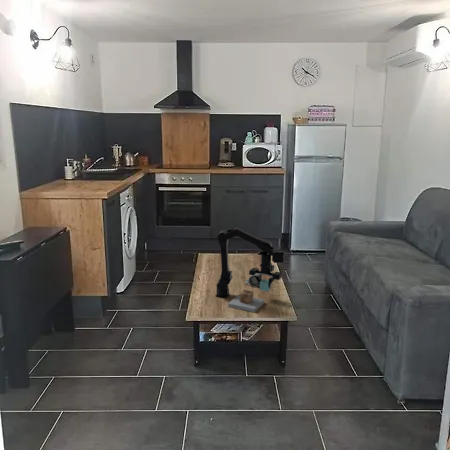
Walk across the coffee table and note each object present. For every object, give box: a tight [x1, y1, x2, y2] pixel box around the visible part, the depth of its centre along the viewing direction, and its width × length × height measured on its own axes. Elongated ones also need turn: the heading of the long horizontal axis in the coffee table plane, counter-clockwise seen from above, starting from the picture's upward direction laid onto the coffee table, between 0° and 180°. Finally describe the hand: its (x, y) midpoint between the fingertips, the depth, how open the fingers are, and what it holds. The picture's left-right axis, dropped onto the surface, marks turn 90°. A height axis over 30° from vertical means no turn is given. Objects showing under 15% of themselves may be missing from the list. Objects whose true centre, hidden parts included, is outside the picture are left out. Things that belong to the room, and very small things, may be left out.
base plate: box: [227, 294, 265, 313], centre depth 250 cm, size 16×14×2 cm
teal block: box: [259, 278, 272, 292], centre depth 256 cm, size 5×5×5 cm
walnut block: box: [239, 289, 254, 304], centre depth 249 cm, size 6×6×6 cm
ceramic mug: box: [244, 275, 260, 288], centre depth 279 cm, size 11×8×8 cm
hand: (265, 287), depth 256 cm, fingers closed on teal block, 5 cm apart
